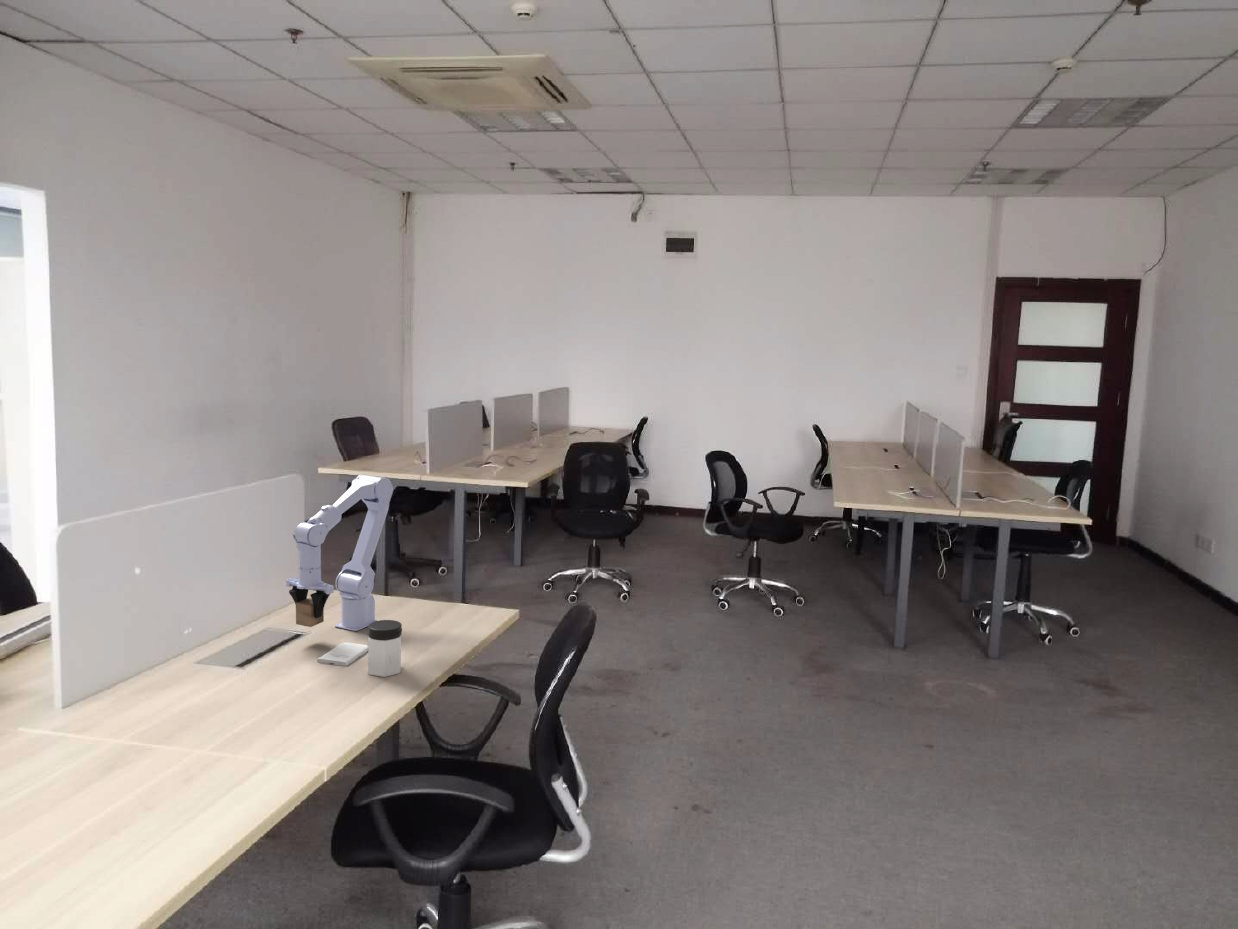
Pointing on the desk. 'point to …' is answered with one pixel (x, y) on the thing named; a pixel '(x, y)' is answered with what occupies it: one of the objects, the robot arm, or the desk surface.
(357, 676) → the desk surface
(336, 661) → the external hard drive
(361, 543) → the robot arm
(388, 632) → the jar
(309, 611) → the walnut block
